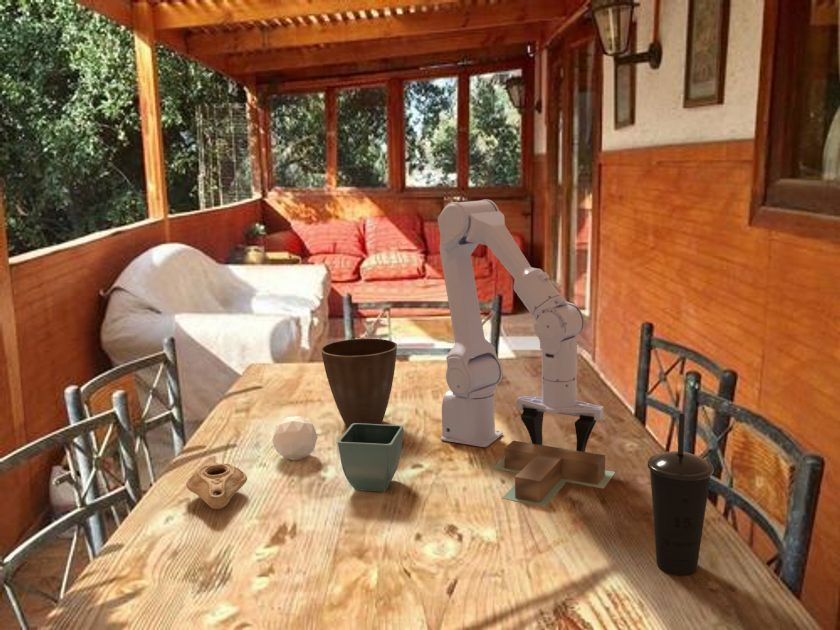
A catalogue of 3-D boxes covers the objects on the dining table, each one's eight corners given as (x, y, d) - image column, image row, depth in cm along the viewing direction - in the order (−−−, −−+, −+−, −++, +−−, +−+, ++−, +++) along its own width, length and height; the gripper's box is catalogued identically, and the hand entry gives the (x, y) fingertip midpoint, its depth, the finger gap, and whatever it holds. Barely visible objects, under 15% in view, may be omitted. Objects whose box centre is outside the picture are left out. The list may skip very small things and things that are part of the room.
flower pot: (393, 498, 116) (391, 444, 114) (339, 495, 118) (336, 441, 116) (406, 476, 125) (404, 424, 123) (355, 473, 126) (352, 422, 125)
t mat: (466, 491, 118) (466, 490, 118) (508, 454, 133) (508, 453, 133) (584, 515, 109) (584, 514, 109) (615, 472, 123) (615, 471, 123)
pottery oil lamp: (189, 523, 109) (170, 479, 110) (205, 514, 121) (188, 474, 122) (245, 496, 111) (226, 453, 111) (256, 490, 122) (238, 450, 123)
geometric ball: (293, 468, 136) (294, 426, 140) (326, 460, 132) (326, 416, 136) (262, 460, 131) (264, 416, 134) (295, 451, 127) (296, 406, 130)
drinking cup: (635, 552, 98) (639, 406, 94) (692, 548, 99) (698, 403, 95) (658, 584, 91) (664, 427, 87) (719, 579, 91) (727, 423, 87)
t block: (479, 490, 118) (479, 470, 117) (513, 459, 130) (513, 440, 129) (578, 510, 110) (578, 488, 109) (604, 475, 122) (605, 455, 121)
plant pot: (311, 432, 147) (306, 353, 143) (347, 409, 160) (343, 336, 157) (381, 440, 141) (377, 358, 138) (411, 415, 154) (408, 340, 151)
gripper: (509, 378, 124) (510, 455, 127) (595, 388, 117) (594, 470, 120) (524, 368, 130) (525, 442, 133) (607, 377, 123) (606, 454, 126)
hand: (558, 454), depth 127 cm, fingers open, 7 cm apart
